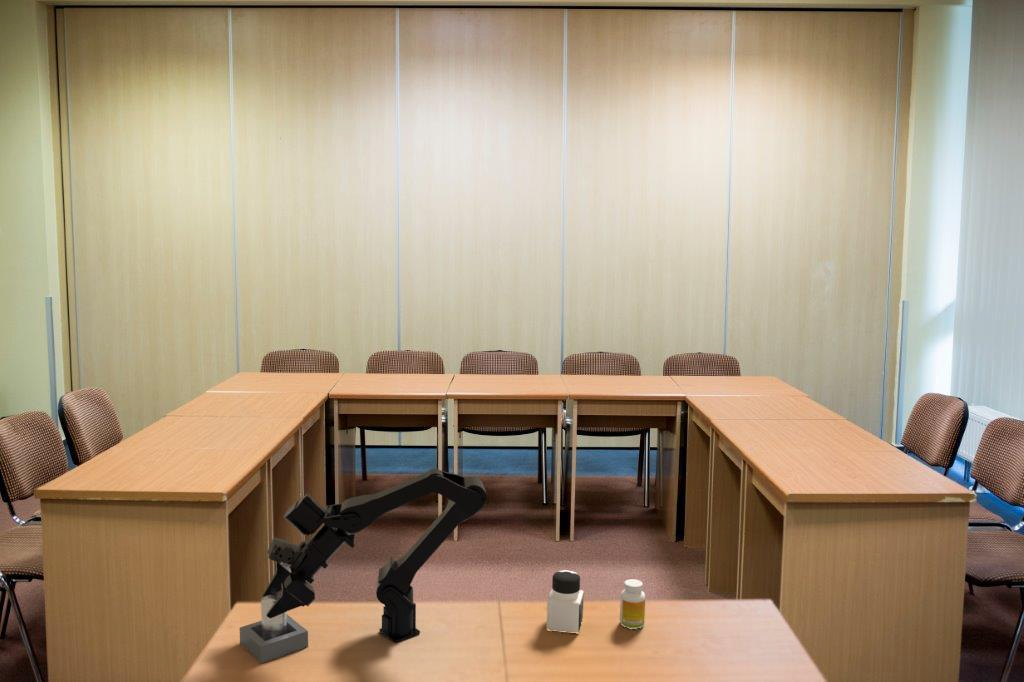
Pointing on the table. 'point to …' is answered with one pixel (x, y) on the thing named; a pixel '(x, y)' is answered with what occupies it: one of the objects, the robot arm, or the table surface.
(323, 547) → the robot arm
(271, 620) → the steel shaft
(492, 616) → the table surface
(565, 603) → the medicine bottle
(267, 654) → the grey square frame
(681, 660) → the table surface
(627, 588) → the supplement bottle
